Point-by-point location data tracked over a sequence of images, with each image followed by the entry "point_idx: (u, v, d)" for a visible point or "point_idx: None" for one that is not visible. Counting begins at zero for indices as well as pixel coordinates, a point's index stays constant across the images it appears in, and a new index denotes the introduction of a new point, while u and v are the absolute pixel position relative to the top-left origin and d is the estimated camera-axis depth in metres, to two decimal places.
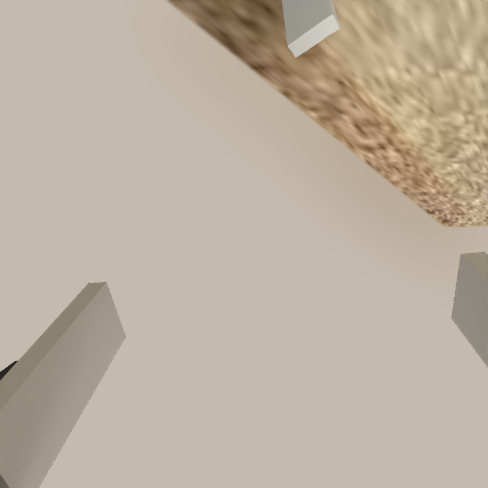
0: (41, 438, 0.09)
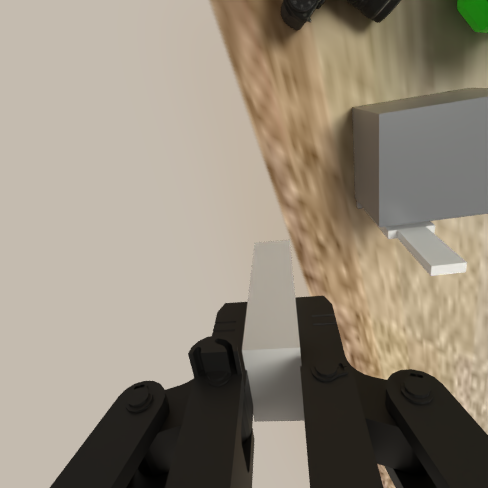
0: None
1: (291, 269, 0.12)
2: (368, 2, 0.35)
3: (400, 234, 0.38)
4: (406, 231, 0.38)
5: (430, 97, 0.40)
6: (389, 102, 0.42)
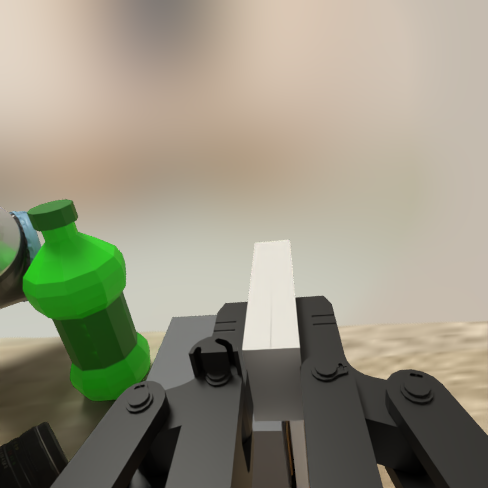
0: None
1: (291, 269, 0.12)
2: (35, 473, 0.31)
3: None
4: None
5: None
6: None
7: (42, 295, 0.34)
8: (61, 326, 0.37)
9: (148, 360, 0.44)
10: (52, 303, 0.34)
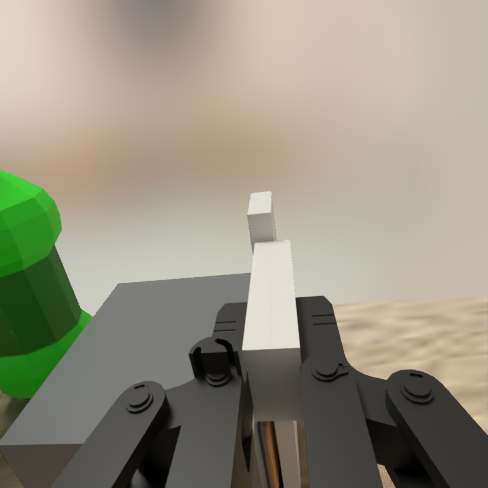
0: None
1: (291, 269, 0.12)
2: None
3: None
4: None
5: None
6: None
7: None
8: None
9: None
10: None
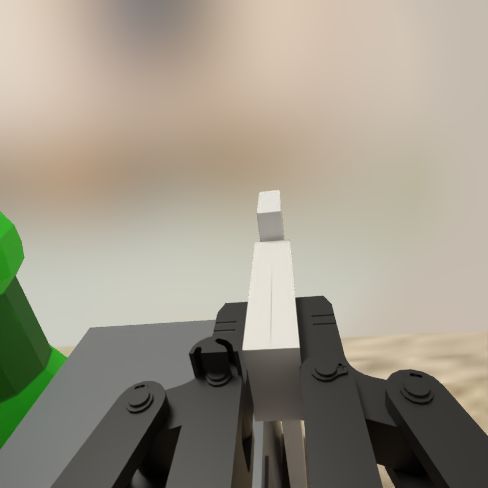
0: None
1: (291, 269, 0.12)
2: None
3: None
4: None
5: None
6: None
7: None
8: None
9: None
10: None
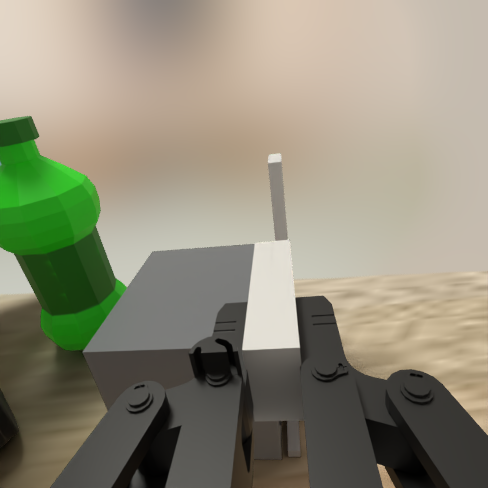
0: None
1: (291, 269, 0.12)
2: None
3: None
4: None
5: None
6: None
7: None
8: (24, 263, 0.33)
9: None
10: (8, 233, 0.30)
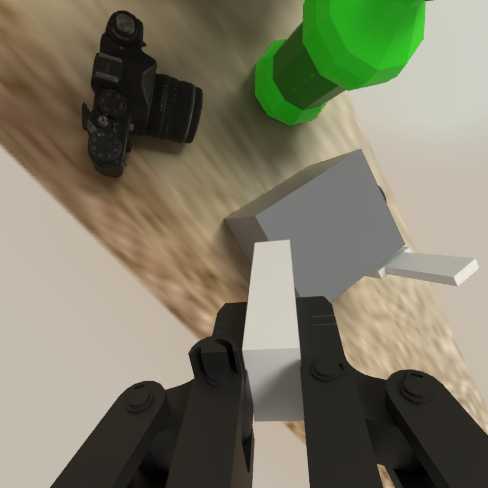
0: None
1: (291, 269, 0.12)
2: (172, 130, 0.36)
3: (391, 268, 0.37)
4: (393, 263, 0.38)
5: (285, 184, 0.42)
6: (254, 201, 0.43)
7: (321, 31, 0.27)
8: (300, 46, 0.32)
9: (312, 119, 0.43)
10: (318, 46, 0.28)
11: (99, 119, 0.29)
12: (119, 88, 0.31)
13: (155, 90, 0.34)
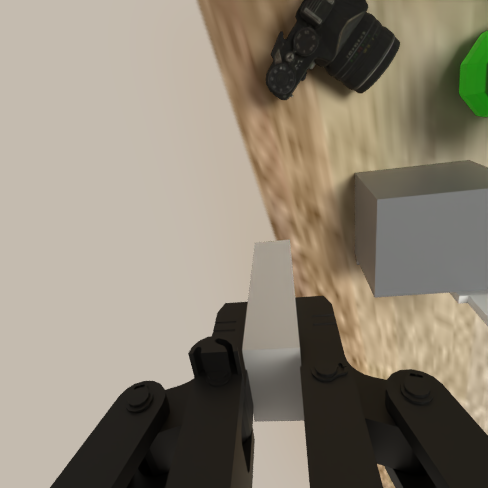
0: None
1: (291, 269, 0.12)
2: (348, 78, 0.36)
3: (472, 301, 0.38)
4: (478, 298, 0.38)
5: (430, 172, 0.41)
6: (390, 172, 0.43)
7: None
8: None
9: None
10: None
11: (287, 55, 0.32)
12: (319, 27, 0.31)
13: (352, 34, 0.33)
